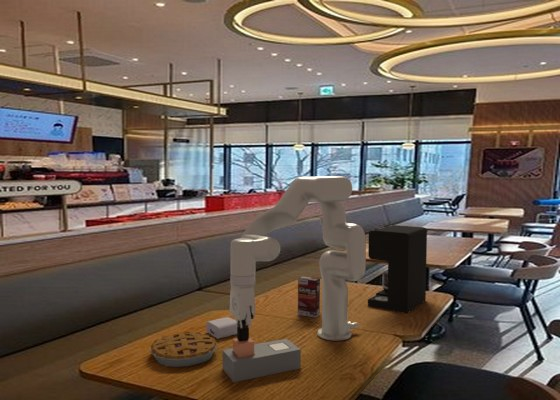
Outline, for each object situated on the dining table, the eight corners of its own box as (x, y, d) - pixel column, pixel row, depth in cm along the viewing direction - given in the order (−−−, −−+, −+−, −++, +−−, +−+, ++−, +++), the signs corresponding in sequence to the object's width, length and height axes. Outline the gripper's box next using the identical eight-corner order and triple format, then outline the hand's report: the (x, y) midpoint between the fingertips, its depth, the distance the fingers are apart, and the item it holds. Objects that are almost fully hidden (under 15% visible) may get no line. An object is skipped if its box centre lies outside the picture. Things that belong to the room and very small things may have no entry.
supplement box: (297, 315, 194) (297, 278, 193) (301, 312, 199) (301, 276, 198) (316, 317, 191) (317, 280, 190) (320, 314, 195) (320, 277, 194)
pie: (155, 374, 138) (155, 358, 138) (146, 348, 158) (145, 334, 158) (225, 362, 147) (225, 347, 147) (208, 339, 167) (207, 326, 167)
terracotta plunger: (248, 355, 142) (248, 336, 142) (254, 361, 138) (254, 341, 138) (232, 357, 140) (232, 338, 140) (238, 364, 136) (238, 344, 135)
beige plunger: (282, 360, 148) (282, 342, 147) (289, 366, 143) (289, 347, 143) (268, 363, 146) (268, 345, 145) (275, 369, 141) (275, 350, 141)
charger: (252, 331, 176) (218, 340, 167) (239, 324, 183) (206, 332, 174) (252, 319, 175) (218, 327, 166) (239, 313, 183) (206, 320, 174)
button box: (286, 356, 151) (286, 338, 151) (300, 368, 142) (300, 349, 142) (222, 368, 142) (222, 350, 141) (233, 382, 133) (233, 362, 132)
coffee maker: (390, 292, 231) (391, 223, 228) (429, 298, 219) (430, 226, 217) (366, 305, 208) (367, 229, 206) (408, 313, 197) (409, 232, 194)
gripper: (223, 275, 143) (223, 333, 144) (240, 286, 129) (240, 350, 130) (245, 273, 146) (245, 330, 147) (264, 284, 132) (264, 346, 133)
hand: (243, 339), depth 139 cm, fingers closed
